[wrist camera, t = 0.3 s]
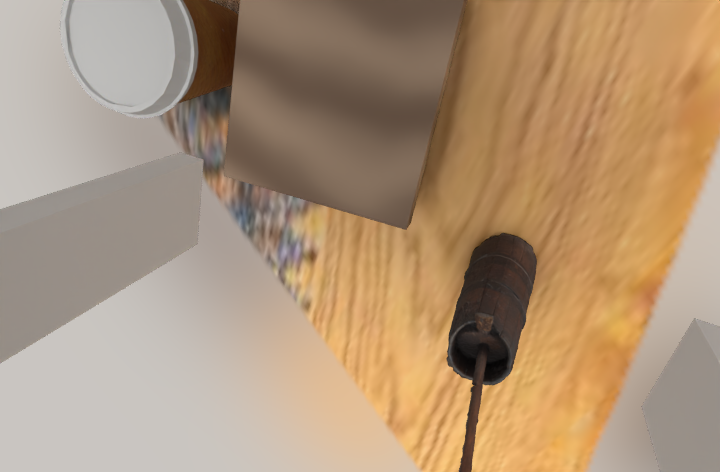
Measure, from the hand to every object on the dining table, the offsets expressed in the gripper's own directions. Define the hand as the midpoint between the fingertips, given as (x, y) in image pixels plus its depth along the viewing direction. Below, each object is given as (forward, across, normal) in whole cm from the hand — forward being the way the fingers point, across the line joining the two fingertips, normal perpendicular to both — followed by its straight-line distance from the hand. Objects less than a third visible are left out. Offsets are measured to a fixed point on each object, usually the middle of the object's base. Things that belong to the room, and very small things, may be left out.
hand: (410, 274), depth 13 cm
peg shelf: (+27, -10, 0) cm, 29 cm away
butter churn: (+27, +4, -10) cm, 29 cm away
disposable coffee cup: (+27, -23, 0) cm, 36 cm away
